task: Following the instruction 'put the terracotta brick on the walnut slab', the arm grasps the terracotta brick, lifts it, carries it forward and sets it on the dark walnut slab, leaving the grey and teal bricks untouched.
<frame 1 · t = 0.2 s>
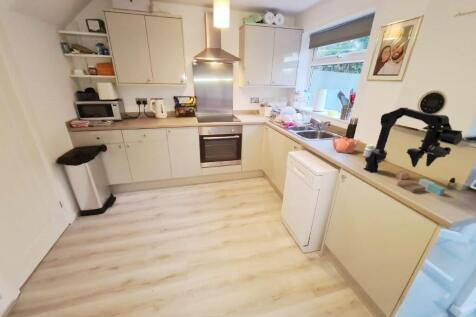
hand: (420, 166, 111), 14 cm above the counter, fingers open, 9 cm apart
pill bottle: (366, 158, 163), on the counter
teal brick: (434, 192, 113), on the counter
pot: (342, 151, 181), on the counter
terracotta brick: (401, 177, 130), on the counter
walnut slab: (409, 188, 117), on the counter
grey brick: (425, 187, 119), on the counter
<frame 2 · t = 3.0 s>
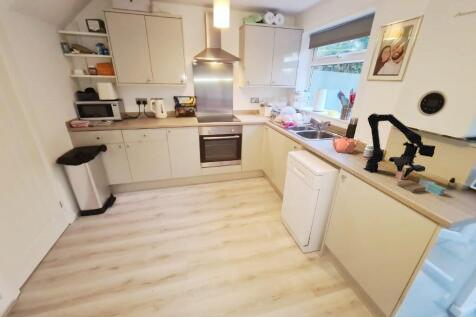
hand: (401, 176, 130), 1 cm above the counter, fingers closed on terracotta brick, 3 cm apart
terracotta brick: (401, 177, 130), on the counter, touching gripper
everything else where it was.
when the fingers open (5 cm above the counter, at t = 7.0 s): terracotta brick drops 2 cm, point 2 cm above the counter.
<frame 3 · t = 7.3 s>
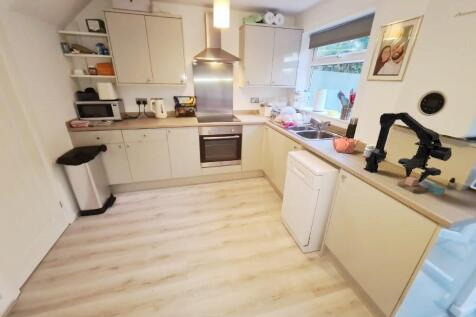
hand: (413, 180, 115), 5 cm above the counter, fingers open, 6 cm apart
terracotta brick: (411, 184, 117), point 2 cm above the counter
everything else where it was.
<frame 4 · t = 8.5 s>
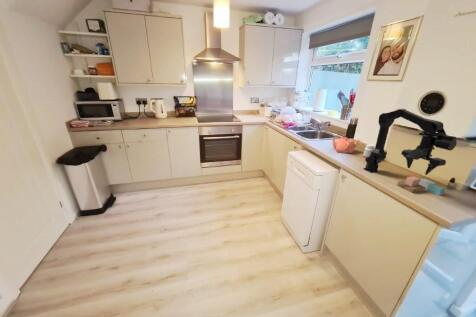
hand: (416, 171, 113), 11 cm above the counter, fingers open, 9 cm apart
nothing on the counter moved.
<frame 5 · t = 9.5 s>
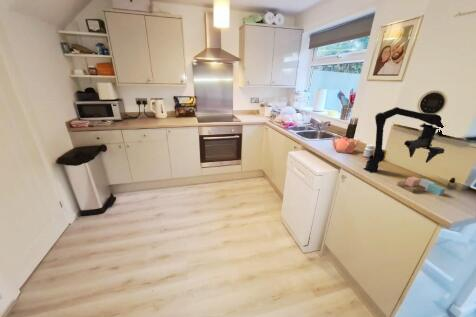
hand: (418, 159, 125), 13 cm above the counter, fingers open, 9 cm apart
nothing on the counter moved.
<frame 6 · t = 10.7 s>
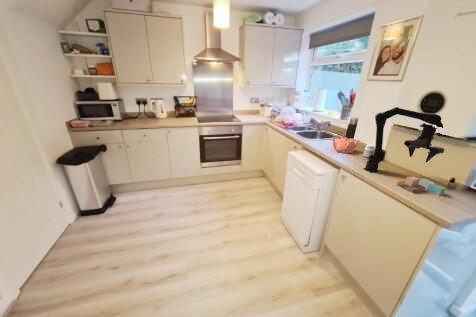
hand: (418, 159, 125), 13 cm above the counter, fingers open, 9 cm apart
terracotta brick: (411, 184, 116), point 2 cm above the counter, touching walnut slab
walnut slab: (409, 189, 117), on the counter, touching terracotta brick
everything else where it was.
at the end: terracotta brick inside the target area on the walnut slab (0.1 cm from its centre), point 3.0 cm above the walnut slab's base; terracotta brick tilted 1°; grey brick moved 0.2 cm from its start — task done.
